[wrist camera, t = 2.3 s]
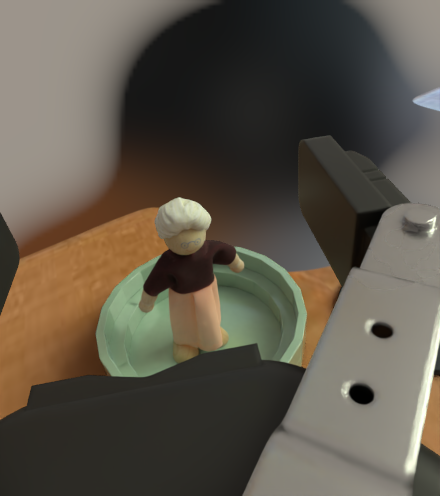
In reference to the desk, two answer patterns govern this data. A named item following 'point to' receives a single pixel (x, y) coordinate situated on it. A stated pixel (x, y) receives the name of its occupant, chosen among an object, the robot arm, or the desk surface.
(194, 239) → the grandmother figurine
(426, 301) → the robot arm
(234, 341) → the bowl
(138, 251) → the desk surface
